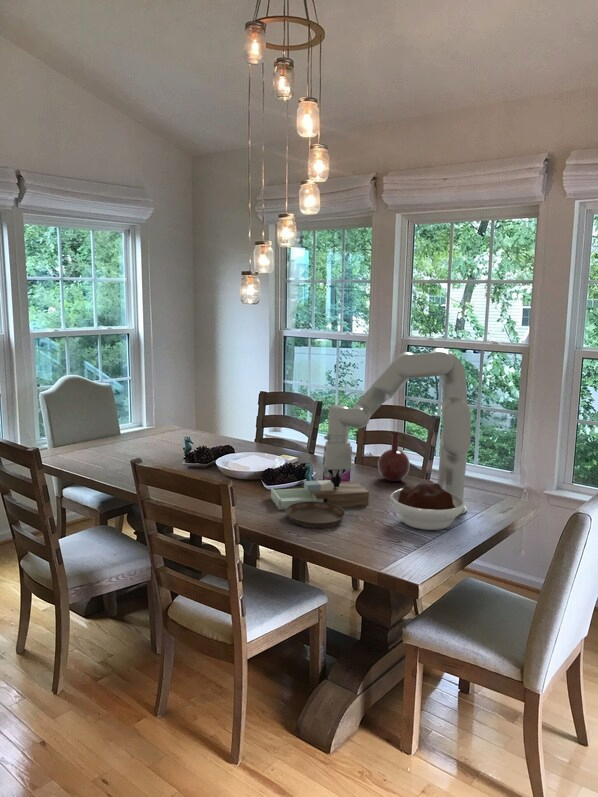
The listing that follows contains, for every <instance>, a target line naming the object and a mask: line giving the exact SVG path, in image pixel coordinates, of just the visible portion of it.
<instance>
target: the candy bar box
mask: <svg viewBox="0 0 598 797" xmlns="http://www.w3.org/2000/svg"><path fill="white" fill-rule="evenodd" d="M352 458H353V446H352V445H351V459H352ZM335 471H336V474H337V470H335ZM351 472H352V467H351V468H350V470H349V471H345V472H344V473H343V474H342V476H341V480H340V482H349V481H351V476H352V474H351ZM322 480H330V481H331V482H332V475H331V474H330V473H329V472H324V471H323V470H322Z"/></svg>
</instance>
